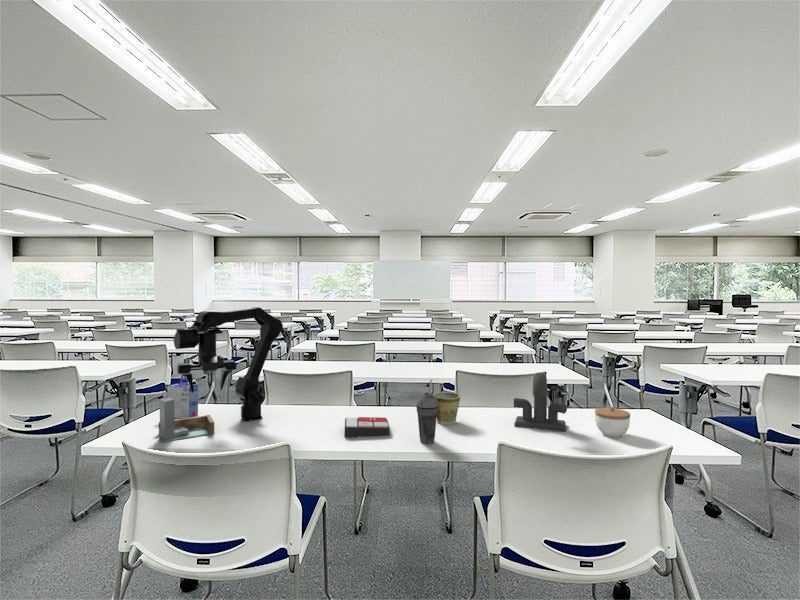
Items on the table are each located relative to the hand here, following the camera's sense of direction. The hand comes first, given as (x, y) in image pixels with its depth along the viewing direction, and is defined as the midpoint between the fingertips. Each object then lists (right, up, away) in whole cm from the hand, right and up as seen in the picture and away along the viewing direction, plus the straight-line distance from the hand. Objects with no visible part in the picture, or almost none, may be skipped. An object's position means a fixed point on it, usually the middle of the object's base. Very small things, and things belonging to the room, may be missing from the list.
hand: (207, 391), depth 154 cm
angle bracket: (-7, -13, -9) cm, 17 cm away
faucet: (+117, -13, -1) cm, 118 cm away
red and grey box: (+56, -14, -3) cm, 58 cm away
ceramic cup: (+86, -13, +8) cm, 87 cm away
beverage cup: (+77, -14, -14) cm, 79 cm away
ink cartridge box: (-16, -13, +14) cm, 25 cm away
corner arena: (-4, -13, -6) cm, 15 cm away
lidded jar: (+139, -13, -7) cm, 140 cm away
